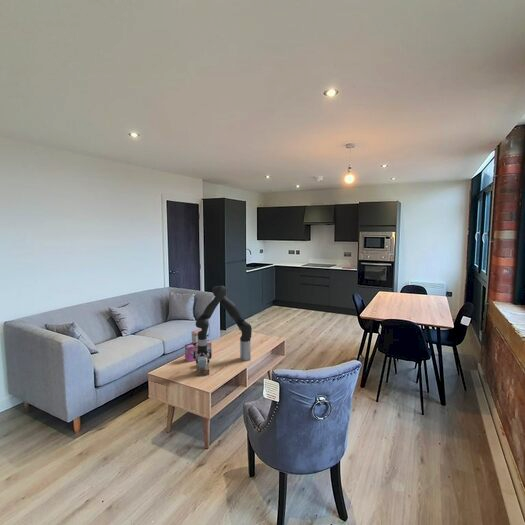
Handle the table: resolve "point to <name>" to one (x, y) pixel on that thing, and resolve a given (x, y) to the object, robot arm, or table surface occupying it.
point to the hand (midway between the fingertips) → (202, 363)
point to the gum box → (194, 347)
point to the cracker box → (195, 335)
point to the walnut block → (202, 370)
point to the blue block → (202, 363)
